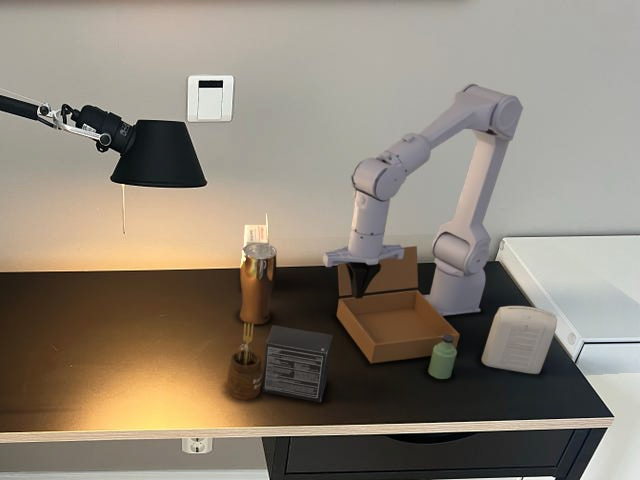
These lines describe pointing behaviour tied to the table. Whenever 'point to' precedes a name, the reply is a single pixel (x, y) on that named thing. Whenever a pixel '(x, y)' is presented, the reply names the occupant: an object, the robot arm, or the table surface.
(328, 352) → the small box
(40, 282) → the table surface
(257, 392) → the utensil holder
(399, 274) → the flap
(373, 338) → the carton
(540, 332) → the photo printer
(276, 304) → the table surface
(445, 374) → the bottle
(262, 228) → the ink cartridge box
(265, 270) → the beer glass
